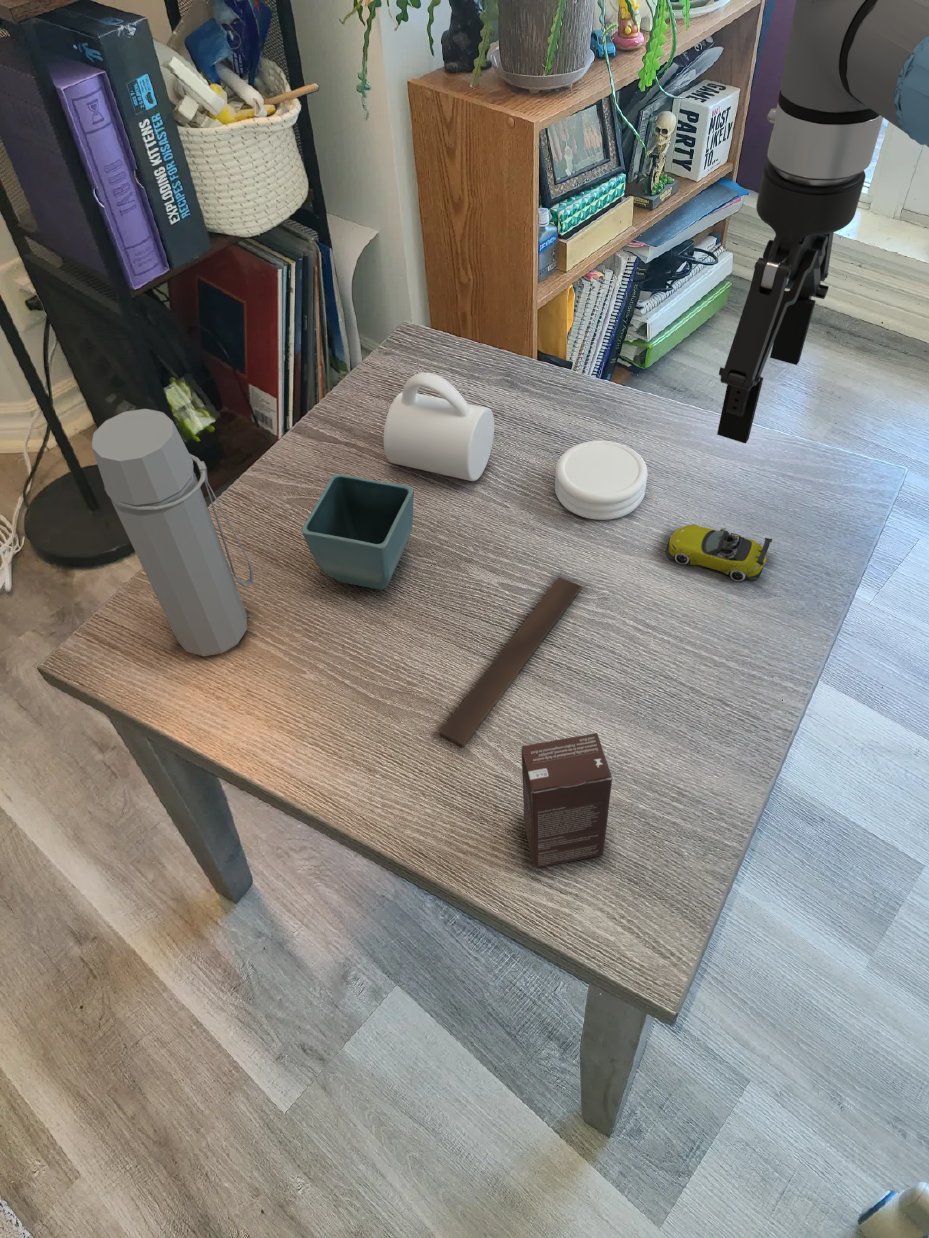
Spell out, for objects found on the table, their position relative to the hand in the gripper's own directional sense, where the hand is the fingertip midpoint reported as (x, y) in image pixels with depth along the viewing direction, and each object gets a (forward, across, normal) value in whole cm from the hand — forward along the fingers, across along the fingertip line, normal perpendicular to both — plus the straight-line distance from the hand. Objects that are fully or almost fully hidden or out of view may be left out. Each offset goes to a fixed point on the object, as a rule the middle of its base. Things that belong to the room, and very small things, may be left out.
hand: (759, 397), depth 85 cm
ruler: (+16, +28, -11) cm, 34 cm away
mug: (+16, +7, -32) cm, 37 cm away
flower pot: (+16, +26, -30) cm, 42 cm away
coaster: (+16, +3, -14) cm, 22 cm away
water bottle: (+16, +39, -38) cm, 57 cm away
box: (+16, +42, +2) cm, 45 cm away
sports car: (+16, +6, +1) cm, 17 cm away
